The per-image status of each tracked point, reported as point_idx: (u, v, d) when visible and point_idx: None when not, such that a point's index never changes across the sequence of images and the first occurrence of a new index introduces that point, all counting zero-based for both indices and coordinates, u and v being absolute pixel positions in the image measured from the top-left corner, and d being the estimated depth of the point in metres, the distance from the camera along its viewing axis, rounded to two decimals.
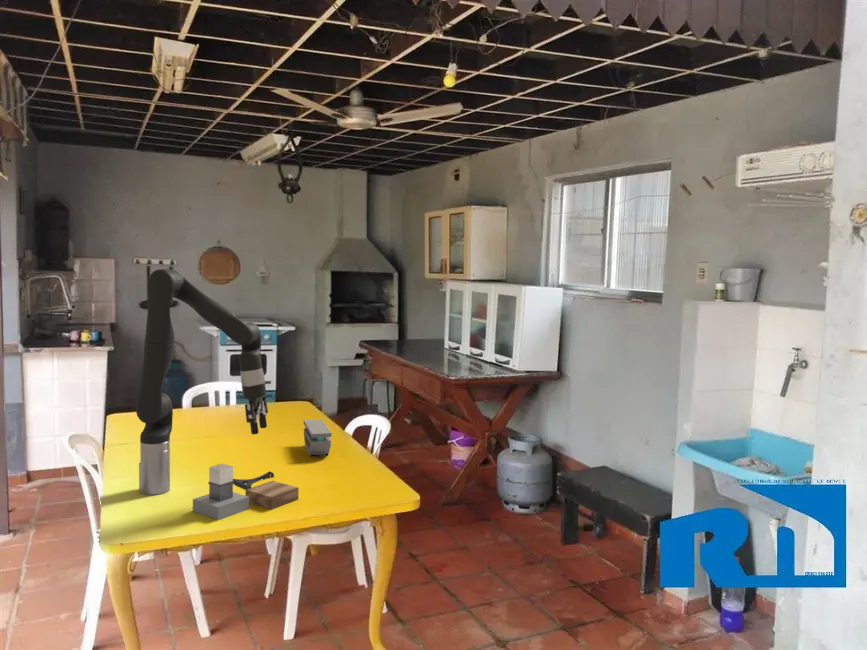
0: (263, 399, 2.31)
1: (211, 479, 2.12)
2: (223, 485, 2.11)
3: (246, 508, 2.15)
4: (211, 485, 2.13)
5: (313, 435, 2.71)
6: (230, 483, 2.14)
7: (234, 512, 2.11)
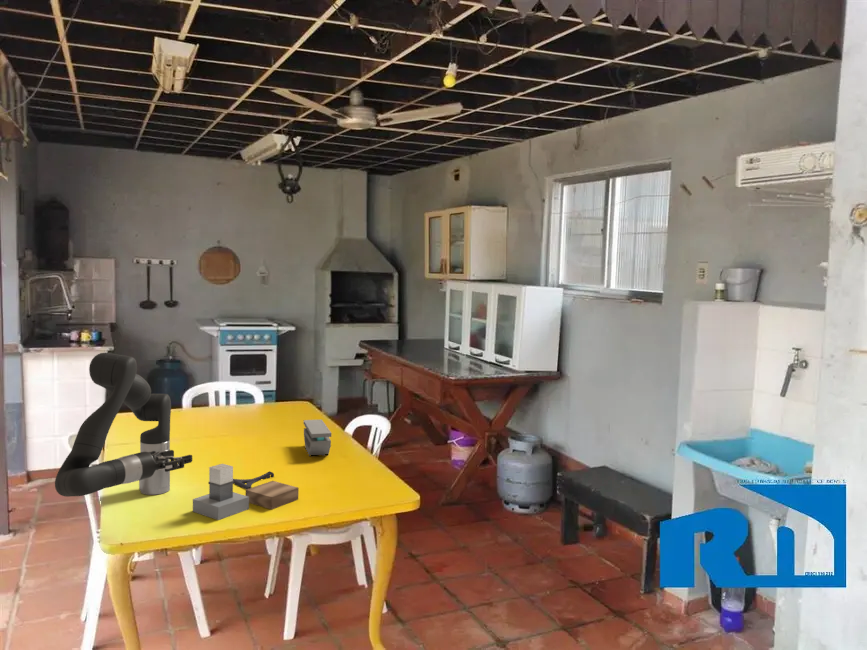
0: None
1: (211, 479, 2.12)
2: (223, 485, 2.11)
3: (246, 508, 2.15)
4: (211, 485, 2.13)
5: (313, 435, 2.71)
6: (230, 483, 2.14)
7: (234, 512, 2.11)
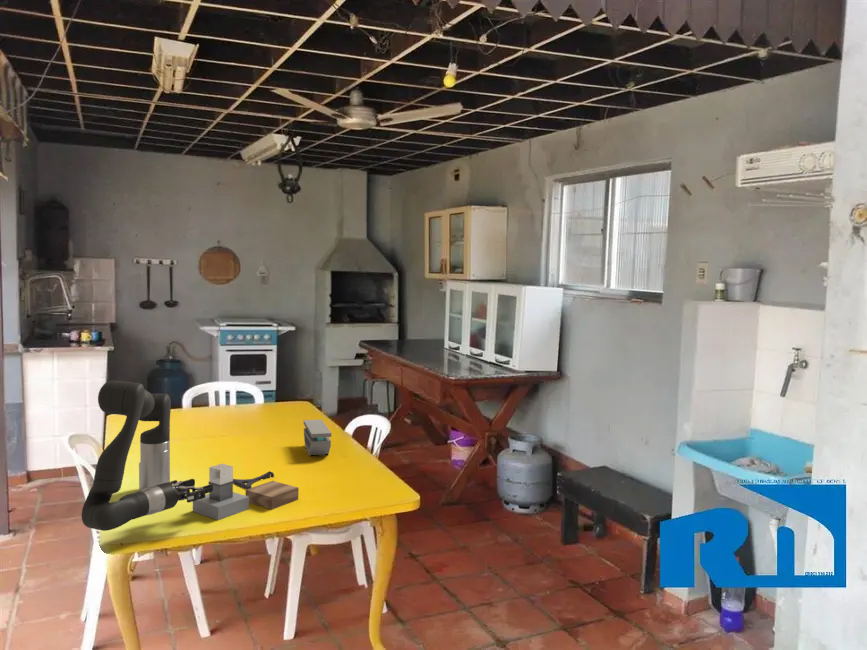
0: None
1: (211, 479, 2.12)
2: (223, 485, 2.11)
3: (246, 508, 2.15)
4: None
5: (313, 435, 2.71)
6: (230, 483, 2.14)
7: (234, 512, 2.11)
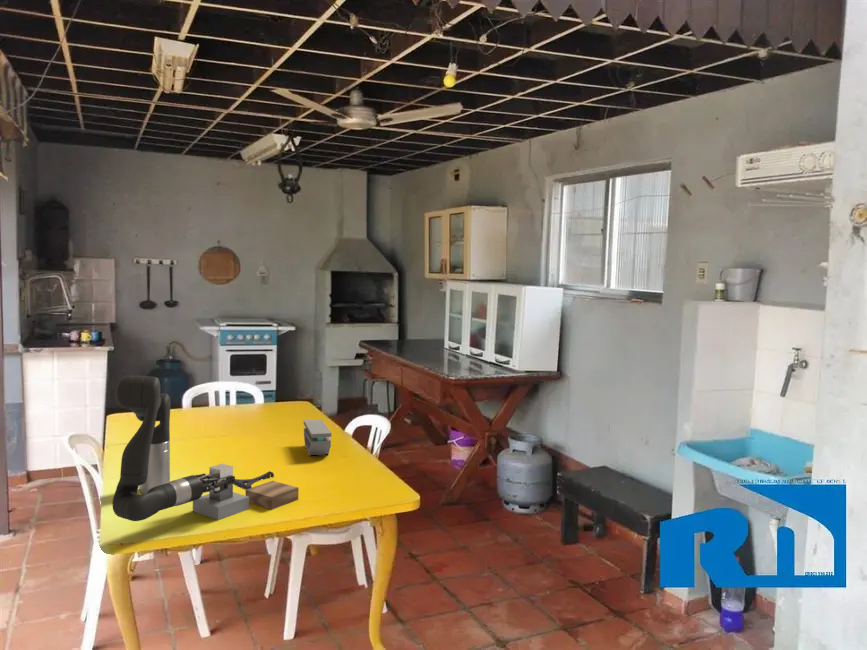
0: None
1: None
2: None
3: (246, 508, 2.15)
4: None
5: (313, 435, 2.71)
6: None
7: (234, 512, 2.11)
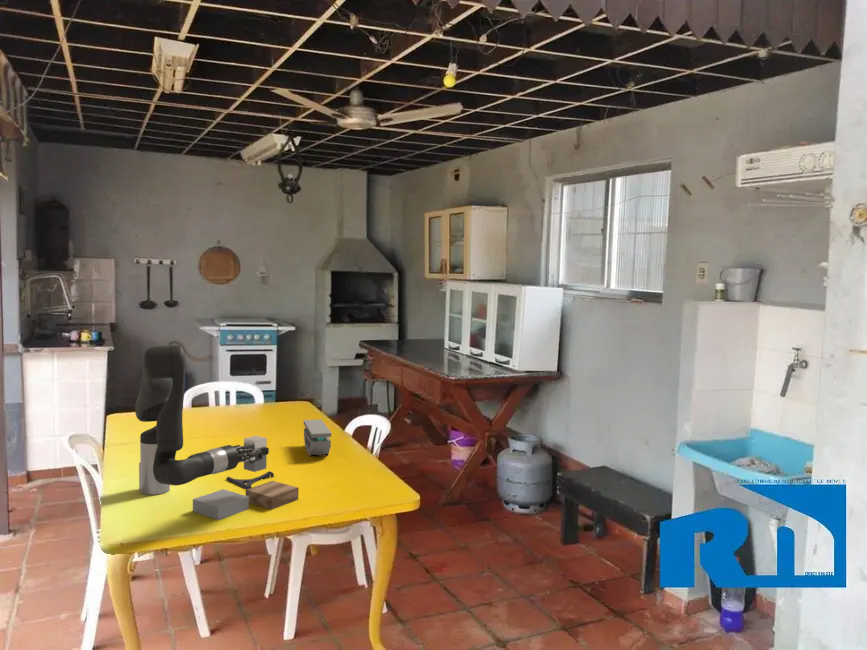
0: None
1: None
2: None
3: (246, 508, 2.15)
4: None
5: (313, 435, 2.71)
6: None
7: (234, 512, 2.11)
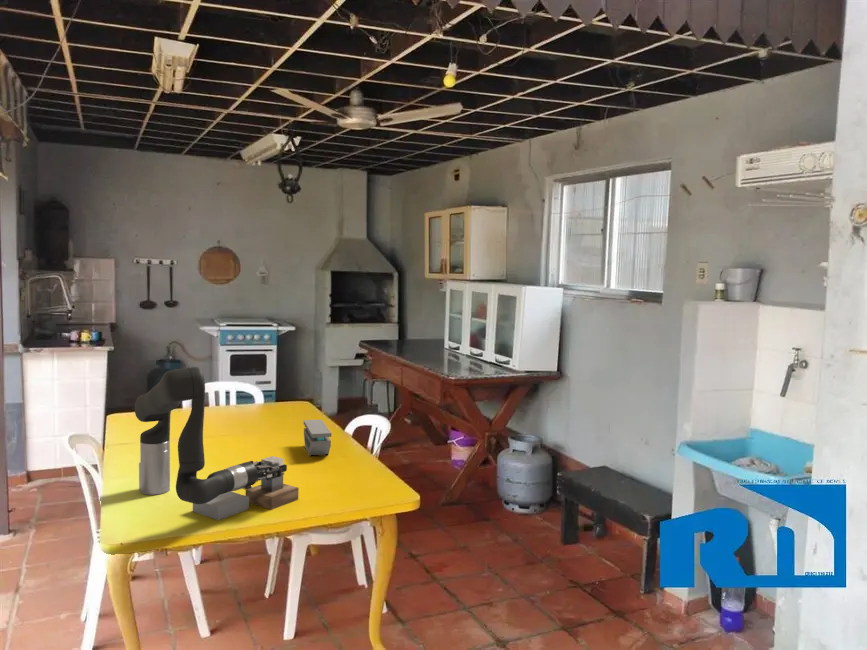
0: None
1: None
2: None
3: (246, 508, 2.15)
4: None
5: (313, 435, 2.71)
6: None
7: (234, 512, 2.11)
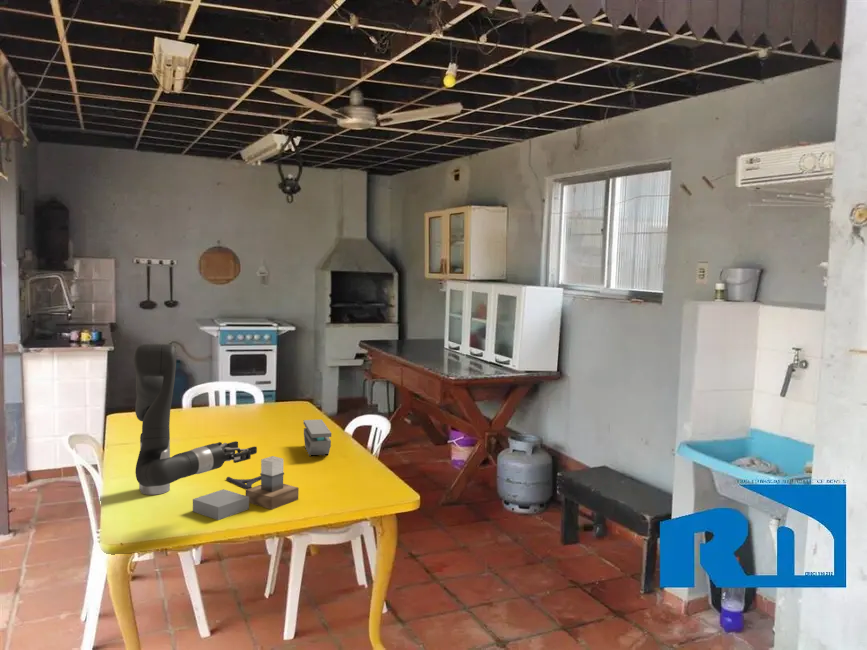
0: None
1: (263, 471, 2.23)
2: (275, 476, 2.21)
3: (246, 508, 2.15)
4: (263, 476, 2.23)
5: (313, 435, 2.71)
6: (281, 474, 2.24)
7: (234, 512, 2.11)
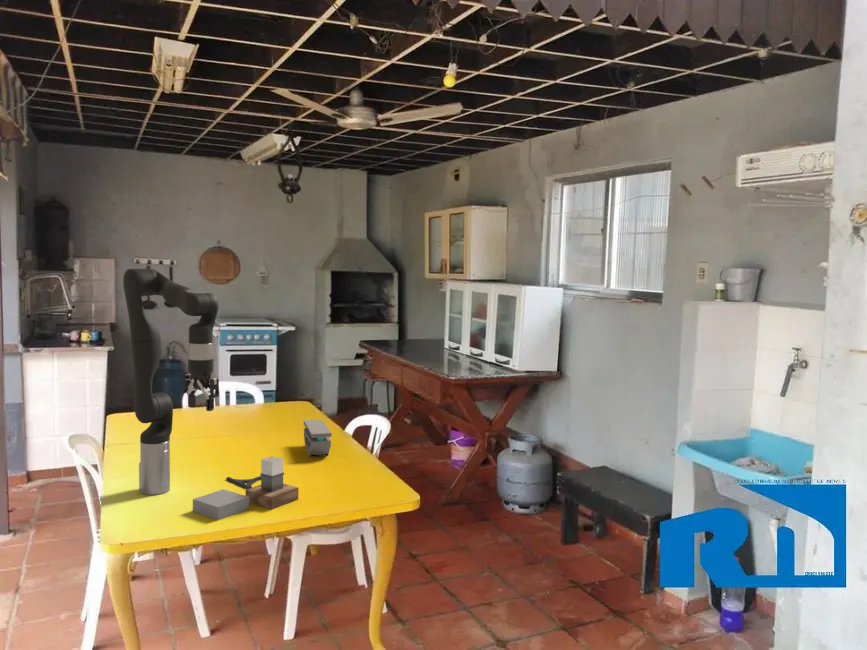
0: None
1: (263, 471, 2.23)
2: (275, 476, 2.21)
3: (246, 508, 2.15)
4: (263, 476, 2.23)
5: (313, 435, 2.71)
6: (281, 474, 2.24)
7: (234, 512, 2.11)
